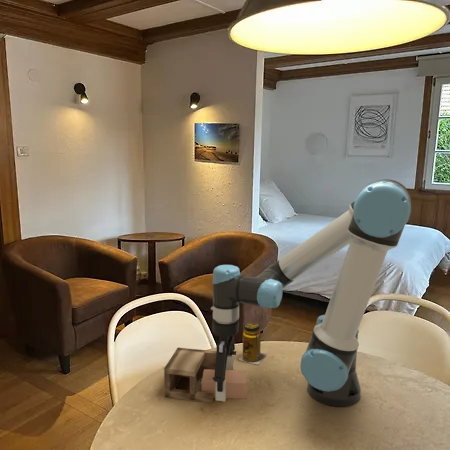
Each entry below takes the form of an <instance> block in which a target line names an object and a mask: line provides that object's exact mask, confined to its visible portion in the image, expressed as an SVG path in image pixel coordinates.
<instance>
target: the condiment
mask: <svg viewBox="0 0 450 450" xmlns="http://www.w3.org/2000/svg"><path fill="white" fill-rule="evenodd" d="M260 328H261V327H260V325H259V324H258V323H255V322H248V323H245V324H244V325H243V333H242V355H241V357H239V359H238V361H240V362H241V361H242V362H245V363H249V364H254V365H259V364H260V363H261V362H262V360H263V359H264V358H265V357H266V356H267V355H268V353H265V352H261V332H260V331H261V329H260Z"/></svg>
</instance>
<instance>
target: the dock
mask: <svg viewBox="0 0 450 450" xmlns="http://www.w3.org/2000/svg"><path fill="white" fill-rule="evenodd" d="M216 352H217V350H207V349H198V348H195V349H194V348H189V347H188V348H186V347H177V348H176V349H175V351H174V353H173V354H172V355H171V358H170V359H169V361H168V362H167V363H166V365H165V367H164V368H163V375H164V376H163V377H164V398H167V399H168V398H169V399H175V400H176V399H177V400H185V401H193V402H200V403H201V402H203V403H210V404H211V403H213V402H214V397H213V393H205V392H202V391H197V380H198V379H199V380H202V377H203V372H204V369H210V370H215V364H216ZM181 378H188V379H189V390H187V389H180V388H179V389H177V388H176V387H177V385H178V383H179V382H180V380H181Z"/></svg>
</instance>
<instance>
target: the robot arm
mask: <svg viewBox="0 0 450 450" xmlns="http://www.w3.org/2000/svg"><path fill="white" fill-rule="evenodd" d="M348 208H349V209H348V210H346V211H345V212H344V213H343V214H341V215H339V216H338V217H337V218H335V219H334V220H333V221H331V222H330V223H328V224H327V225H326V226H324V227H323V228H322V229H320V230H319V231H317V232H316V233H314V234H312V236H310V237H309V238H307V239H306V240H305V241H303V242H302V243H300V244H299V245H298V246H296V247H295V248H294V249H292V250H291V251H289V252H288V253H286V254H285V255H284V256H283V257H281V258H280V259H278V260H276V262H273V264H270V265H269V266H267V267H266V268H265V269H264V270H263V271H262V272H261V273H259V274H258V275H256V276H248V275H247V276H246V275H242V274H241V272H240V271H241V270H240V268H239V267H238V266H236V265H233V264H221V265H220V264H219V265H218V266H216V267H214V269H213V272H212V282H211V283H212V284H211V285H212V306H211V307H210V310H211V311H212V333H213V334H214V335H216V336H217V337H219V338H218V339H217V344H216V347H215V348H216V351H217V352H216V364H215V375H214V377H213V380H214V382H216V397H215V401H219V402H226V399H227V398H226V379H225V373H226V370H235V369H234V368H235V367H234V366H235V365H234V362H235V361H234V360H235V359H234V358H235V357H234V356H236V355H237V351H235V350H236V347H235V346H236V345H235V336H236V335H237V334H238V333H239V328H240V326H239V325H240V323H239V321H240V320H239V318H240V304H247V305H251V306H258V307H262V308H265V309H267V308H268V309H269V308H270V309H276V308H278V307H279V306H280V305H281V302H282V300H283V299H282V298H283V289H284V288H286V287H287V286H289V285H290V284H291V283H293V282H294V281H296V280H297V279H299V278H300V277H301V276H303V275H304V274H306V273H308V272H310V271H311V270H313V269H314V268H316V267H317V266H319V264H321V263H323V262H324V261H326V260H327V259H329V258H331V256H333V255H335V254H336V253H338V252H340V251H341V250H343V249H344V248H345V247H347V246H348V248H347V251H346V253H345V256H344V259H343V262H342V266H341V268H340V271H339V274H338V276H337V279H336V283H335V285H334V287H333V288H334V289H333V290H332V291H333V292H332V295H331V296H330V298H329V299H330V300H329V303H328V305H327V308H326V310H325V311H326V312H325V314H322V315H319V316H318V317H317V319H316V323H315V326H314V327H313V330H312V333H311V336H310V339H309V342H308V345H307V346H306V347H307V348H306V350H305V352H304V353H303V354H302V356H301V360H300V364H299V367H300V372H301V374H302V375H303V377H304V379H305V380H306V382H307V392H308V394H309V395H310V397H312V398H313V399H314V400H316V401H317V402H319V403H322V404H325V405H327V406H330V407H331V406H332V407H339V408H340V407H348V406H352V405H355V404H357V403H358V402H359V400H360V399H361V394H362V393H361V391H362V390H361V385H360V381H359V378H358V373H357V354H358V352H357V351H358V350H359V349H358V348H359V345H360V344H359V341H358V339H359V332H360V330H359V328H360V326H361V323H362V320H363V317H364V315H365V312H366V309H367V306H368V305H369V301H370V298H371V296H372V293H373V291H374V288H375V285H376V283H377V280H378V278H379V275H380V272H381V270H382V267H383V264H384V262H385V259H386V256H387V254H388V251H389V250H392V249H394V248H397V246H398V245H399V242H400V240H401V239H400V238H401V236H402V234H403V231H404V228H405V226H406V225H407V224H408V222H409V220H410V216H411V213H412V198H411V195H410V192H409V191H408V189H407V187H406V186H405V185H403V184H402V183H401V182H399V181H397V180H393V179H380V180H376V181H375V182H372V183H371V184H368V185H367V186H365V187H364V188H363V189H362V190H361V191H360V192H359V194H358V195H357V196H356V198H355V200H354V201H352V202H351V203H350V204H349V207H348Z"/></svg>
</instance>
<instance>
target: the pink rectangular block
mask: <svg viewBox="0 0 450 450" xmlns="http://www.w3.org/2000/svg"><path fill="white" fill-rule="evenodd" d="M214 375H215V370H210V369H204V372H203V377H202V379H201V392H205V393H213V398H216V382H214V380H213V377H214ZM225 379H226V399H244V400H245V399H247V398H248V397H247V396H248V395H247V393H248V389H247V387H248V383H247V382H248V371H247V370H235V369H234V370H226V373H225Z"/></svg>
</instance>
